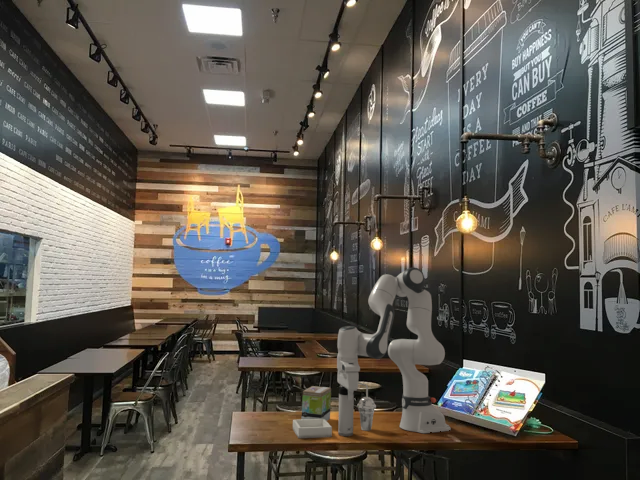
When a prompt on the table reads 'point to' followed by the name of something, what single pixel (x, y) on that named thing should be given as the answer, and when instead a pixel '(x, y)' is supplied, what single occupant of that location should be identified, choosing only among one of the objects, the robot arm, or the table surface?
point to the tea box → (316, 403)
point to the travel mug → (345, 413)
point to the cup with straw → (366, 411)
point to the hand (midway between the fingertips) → (346, 397)
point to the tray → (312, 428)
